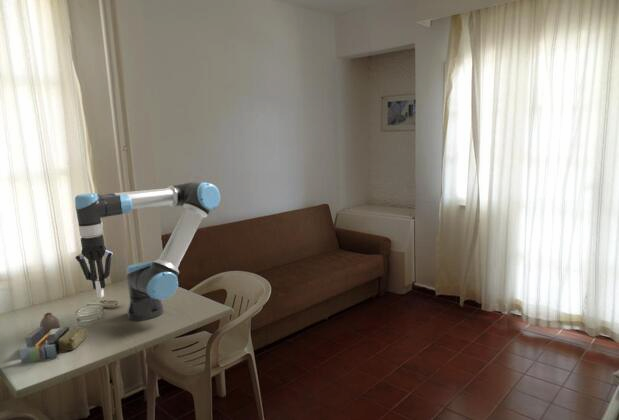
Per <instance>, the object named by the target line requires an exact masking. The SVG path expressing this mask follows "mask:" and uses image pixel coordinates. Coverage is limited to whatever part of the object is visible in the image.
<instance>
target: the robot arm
mask: <svg viewBox="0 0 619 420" xmlns="http://www.w3.org/2000/svg"><path fill="white" fill-rule="evenodd" d="M220 202H221V193H220V190H219V189H218V187H217V186H216V185H215V184H212V183H210V182H191V181H190V182H186V183H184V182H183V183H180V184H175V185H168V187H166V188H155V189H144V190H135V191H134V190H133V191H124V192H122V191H121V192H113V193H102V194H101V193H96V192H95V193H93V192H92V193H81V194H77V195H76V196H75V198H74V204H75V212H76V218H77V223H78V224H77V225H78V231H79V236H80V243H81V247H82V248H81V253H80V254H78V255H76V256H75V259H76V261H77V262H78V263H79V265H80V268H81V269H82V272H83V275H84V277H85V280H87V281H91V282H92V288H93V290H95V291H96V297H97V299H100V298H101V299H102V298H103V297H104V296H105V291H104V288H106V282H105V281H106V280H105V279H107V278H108V277H110V272H111V264H112V263H111V262H112V257H113V255H114V252H113V251H109V250H108V249H107V248H106V246H105V239H104V235H103V232H104V231H103V226H102V218H107V217H114V216H120V215H122V216H123V215H125V214H129V213H131V212H132V210H135V209H136V210H137V209H147V208H153V207H155V208H156V207H161V206H170V207H183V212H182V213H181V215H180V218H179V219H178V221H177V224H176V226H175V227H174V230H172V233H171V235H170V237H169V239H168V241H167V243H166V244H165V247H164V248H163V250H162V252H161V254H160V256H159V258H158V259H156V260H154V261H152V260H151V261H150V260H148V261H143V262H137V263H134V264H130V265H129V266H127V267H126V271H125V272H126V279H127V280H126V281H127V287H128V294H129V303H128V309H127V318H128V320H131V321H146V320H150V319H154V318H157V317H159V316H160V315H162V314H163V313H164V312H165V307H164V303H163V302H162V300H167V299H168V298H171V297H172V296H173V295H174V294H175V293H176V292H177V290H178V287H179V281H178V276H179V274H180V271H179V266H180V263H181V261H182V260H183V258H184V256H185V254H186V252H187V250H188V248H189V247H190V244H191V243H192V240H193V238H194V236H195V233H196V232H197V230H198V229H199V225H200V224H201V222H202V220H203V218H207V217H208V216H209V214H210V212H211V210H214V209H216V208H217V207H218V206H219V205H220ZM104 255H105V257H106V258H105V265H103V257H104ZM85 259H87V262H88V264H89V267H88V265H87V262H86V260H85ZM97 274H98V275H97Z"/></svg>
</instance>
